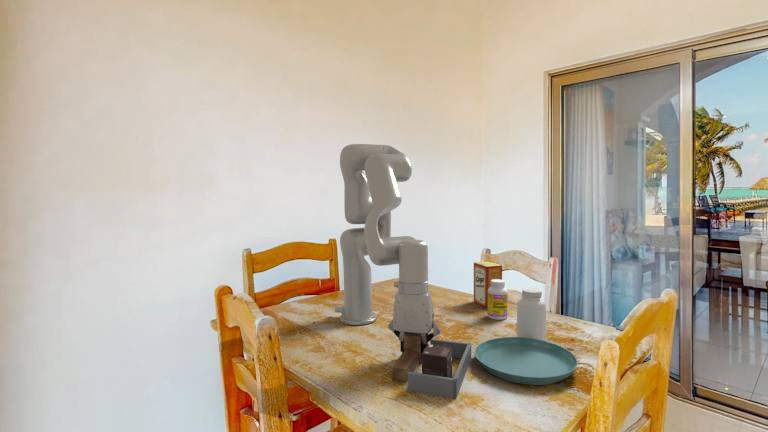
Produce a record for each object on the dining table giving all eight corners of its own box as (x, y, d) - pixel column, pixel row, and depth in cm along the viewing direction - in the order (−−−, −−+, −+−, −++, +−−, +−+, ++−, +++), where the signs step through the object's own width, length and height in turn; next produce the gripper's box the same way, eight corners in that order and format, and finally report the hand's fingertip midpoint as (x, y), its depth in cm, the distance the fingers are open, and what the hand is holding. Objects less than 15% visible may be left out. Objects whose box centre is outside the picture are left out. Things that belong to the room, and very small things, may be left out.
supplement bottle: (490, 320, 135) (491, 283, 134) (485, 314, 142) (485, 278, 141) (510, 320, 135) (510, 282, 135) (504, 314, 142) (504, 278, 141)
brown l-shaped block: (390, 380, 94) (389, 351, 94) (408, 354, 108) (408, 329, 108) (408, 383, 93) (407, 353, 92) (424, 356, 107) (424, 331, 106)
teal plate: (497, 341, 118) (497, 330, 117) (588, 362, 102) (588, 350, 102) (457, 371, 99) (457, 358, 99) (560, 402, 84) (561, 387, 84)
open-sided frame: (407, 390, 89) (407, 373, 89) (431, 352, 109) (431, 338, 109) (456, 398, 85) (456, 380, 85) (471, 358, 106) (471, 343, 105)
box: (447, 388, 90) (447, 356, 89) (421, 384, 92) (421, 353, 92) (452, 376, 96) (452, 346, 95) (428, 373, 98) (427, 343, 97)
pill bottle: (545, 337, 120) (545, 287, 119) (546, 347, 112) (547, 294, 111) (517, 334, 122) (517, 286, 121) (516, 344, 115) (516, 292, 114)
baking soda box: (473, 301, 158) (473, 261, 157) (488, 300, 160) (488, 260, 159) (486, 308, 149) (486, 265, 148) (501, 306, 151) (502, 264, 150)
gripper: (378, 288, 104) (379, 357, 105) (442, 293, 98) (443, 366, 99) (387, 282, 111) (388, 346, 112) (448, 286, 105) (448, 354, 106)
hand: (414, 355), depth 106 cm, fingers closed on brown l-shaped block, 4 cm apart
